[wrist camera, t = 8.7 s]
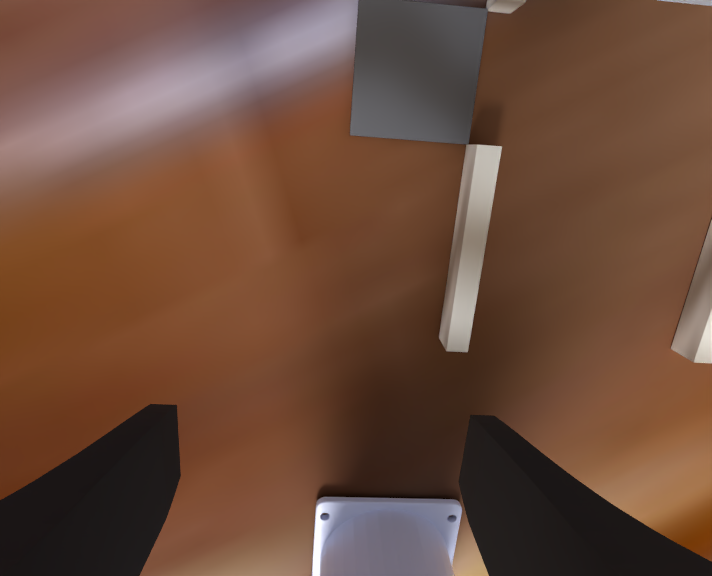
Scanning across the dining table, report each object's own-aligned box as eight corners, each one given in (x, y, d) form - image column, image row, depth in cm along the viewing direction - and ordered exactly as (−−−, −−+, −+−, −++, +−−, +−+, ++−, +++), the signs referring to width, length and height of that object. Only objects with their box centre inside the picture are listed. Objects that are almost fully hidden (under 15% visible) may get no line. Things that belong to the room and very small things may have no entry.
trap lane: (779, 353, 23) (843, 383, 20) (336, 332, 21) (337, 361, 18) (1025, -259, 16) (1179, -348, 13) (383, -366, 14) (396, -496, 11)
